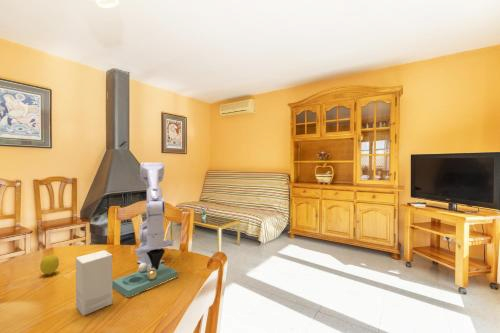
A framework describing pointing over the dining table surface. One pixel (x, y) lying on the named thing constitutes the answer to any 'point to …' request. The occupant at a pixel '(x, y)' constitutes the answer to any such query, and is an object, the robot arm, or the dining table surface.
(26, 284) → the dining table surface
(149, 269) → the steel ball
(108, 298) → the skincare box
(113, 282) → the bearing plate
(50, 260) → the lemon
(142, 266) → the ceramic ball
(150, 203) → the robot arm
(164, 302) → the dining table surface
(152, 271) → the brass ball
